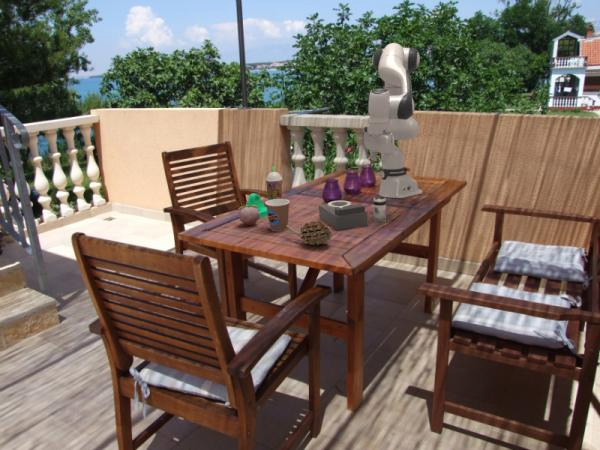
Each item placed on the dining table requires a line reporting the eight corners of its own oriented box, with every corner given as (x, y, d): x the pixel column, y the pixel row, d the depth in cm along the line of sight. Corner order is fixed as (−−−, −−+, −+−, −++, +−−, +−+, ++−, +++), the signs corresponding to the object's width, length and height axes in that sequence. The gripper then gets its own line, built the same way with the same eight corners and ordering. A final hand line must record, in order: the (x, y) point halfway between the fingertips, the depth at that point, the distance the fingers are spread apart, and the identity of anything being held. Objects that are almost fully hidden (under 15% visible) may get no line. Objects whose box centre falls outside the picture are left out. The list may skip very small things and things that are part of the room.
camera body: (347, 213, 239) (347, 194, 236) (367, 225, 221) (367, 204, 218) (319, 218, 234) (318, 198, 231) (337, 230, 216) (336, 209, 213)
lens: (382, 217, 230) (382, 195, 227) (388, 221, 225) (388, 198, 222) (370, 219, 228) (370, 197, 225) (377, 223, 223) (377, 200, 220)
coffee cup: (262, 229, 222) (260, 202, 219) (280, 223, 229) (278, 197, 226) (278, 234, 215) (276, 206, 212) (296, 228, 222) (294, 201, 218)
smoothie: (265, 208, 255) (262, 168, 249) (270, 203, 263) (267, 164, 257) (281, 208, 253) (279, 168, 247) (286, 203, 261) (283, 164, 255)
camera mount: (253, 220, 237) (251, 198, 234) (243, 217, 242) (241, 195, 239) (273, 214, 244) (272, 193, 241) (263, 211, 250) (262, 190, 247)
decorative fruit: (256, 221, 235) (255, 199, 232) (262, 225, 228) (260, 203, 225) (236, 224, 232) (234, 202, 229) (241, 229, 225) (239, 206, 222)
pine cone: (338, 243, 201) (337, 219, 198) (325, 251, 193) (324, 226, 190) (291, 235, 213) (289, 212, 210) (277, 243, 205) (275, 219, 202)
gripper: (399, 131, 207) (398, 165, 211) (374, 126, 225) (374, 158, 229) (385, 132, 205) (384, 167, 209) (361, 127, 223) (361, 159, 227)
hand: (379, 162), depth 219 cm, fingers open, 8 cm apart
